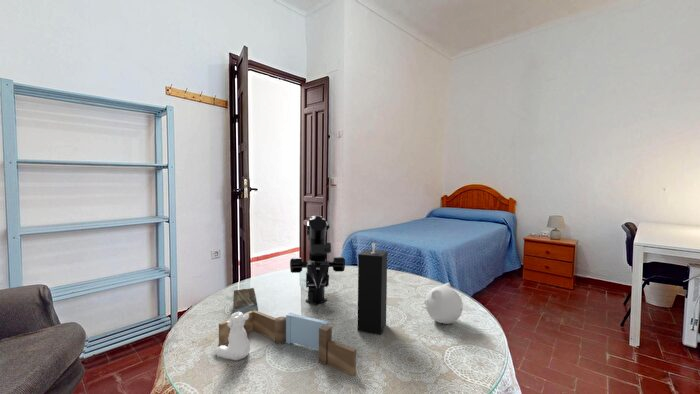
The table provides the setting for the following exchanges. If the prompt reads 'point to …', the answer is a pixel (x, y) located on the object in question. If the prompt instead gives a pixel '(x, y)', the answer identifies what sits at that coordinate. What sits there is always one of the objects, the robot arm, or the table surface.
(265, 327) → the pen fence
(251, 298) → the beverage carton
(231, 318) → the sitting furry creature
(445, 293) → the cat head
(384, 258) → the black pillar candle
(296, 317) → the gate
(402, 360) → the table surface
